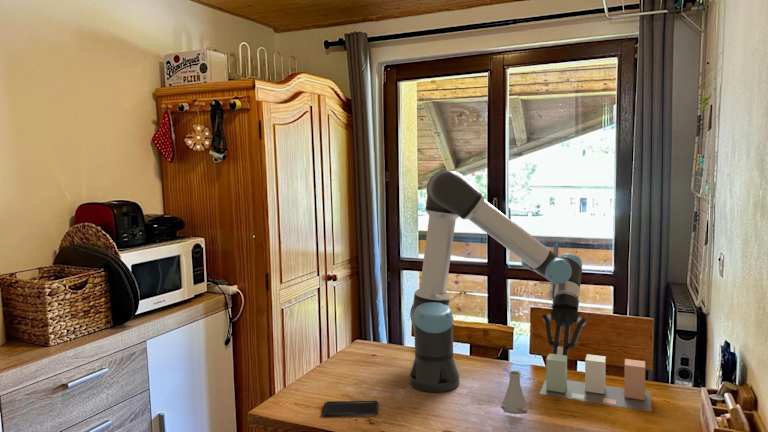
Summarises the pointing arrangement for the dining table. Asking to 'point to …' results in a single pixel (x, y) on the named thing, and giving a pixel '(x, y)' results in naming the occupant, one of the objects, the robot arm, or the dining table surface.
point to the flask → (514, 395)
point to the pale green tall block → (556, 373)
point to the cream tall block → (595, 373)
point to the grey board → (600, 396)
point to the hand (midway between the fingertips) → (558, 368)
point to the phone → (350, 409)
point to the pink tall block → (634, 379)
